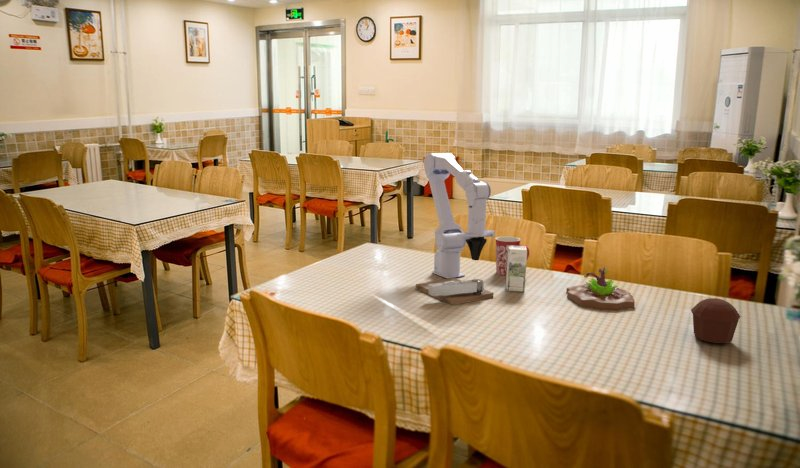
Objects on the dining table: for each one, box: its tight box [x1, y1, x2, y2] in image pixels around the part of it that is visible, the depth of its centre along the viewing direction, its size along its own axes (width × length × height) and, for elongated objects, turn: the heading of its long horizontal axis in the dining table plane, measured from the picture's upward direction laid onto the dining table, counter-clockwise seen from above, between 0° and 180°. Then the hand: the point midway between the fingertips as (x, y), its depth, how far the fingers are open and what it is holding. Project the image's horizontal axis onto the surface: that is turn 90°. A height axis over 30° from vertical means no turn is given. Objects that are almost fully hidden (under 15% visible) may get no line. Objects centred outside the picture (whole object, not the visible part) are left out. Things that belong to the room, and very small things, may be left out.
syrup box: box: [505, 245, 528, 293], centre depth 191 cm, size 6×6×14 cm
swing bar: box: [427, 278, 485, 297], centre depth 179 cm, size 18×4×3 cm, turn 111°
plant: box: [566, 266, 635, 311], centre depth 182 cm, size 20×20×11 cm
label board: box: [415, 277, 494, 306], centre depth 187 cm, size 20×16×2 cm
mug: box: [494, 236, 530, 277], centre depth 208 cm, size 13×9×14 cm
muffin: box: [690, 297, 742, 344], centre depth 151 cm, size 12×11×10 cm
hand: (475, 259), depth 193 cm, fingers closed
